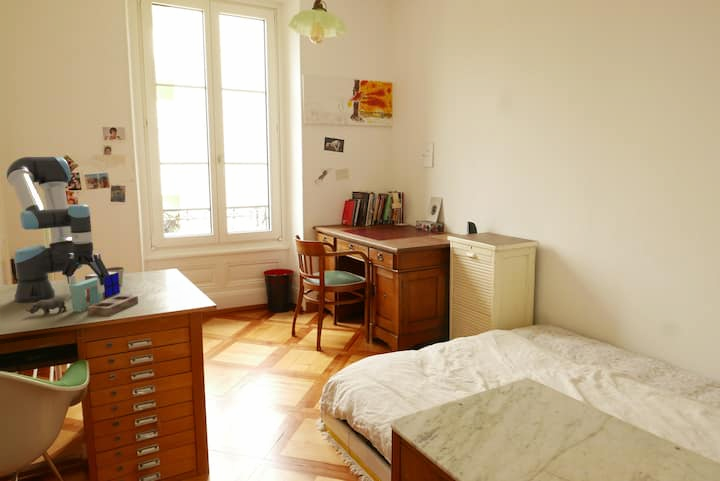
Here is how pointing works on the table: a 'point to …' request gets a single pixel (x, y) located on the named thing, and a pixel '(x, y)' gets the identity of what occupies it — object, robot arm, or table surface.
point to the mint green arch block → (79, 294)
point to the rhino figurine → (48, 306)
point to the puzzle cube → (107, 284)
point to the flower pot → (119, 270)
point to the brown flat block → (112, 305)
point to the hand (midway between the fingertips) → (87, 292)
